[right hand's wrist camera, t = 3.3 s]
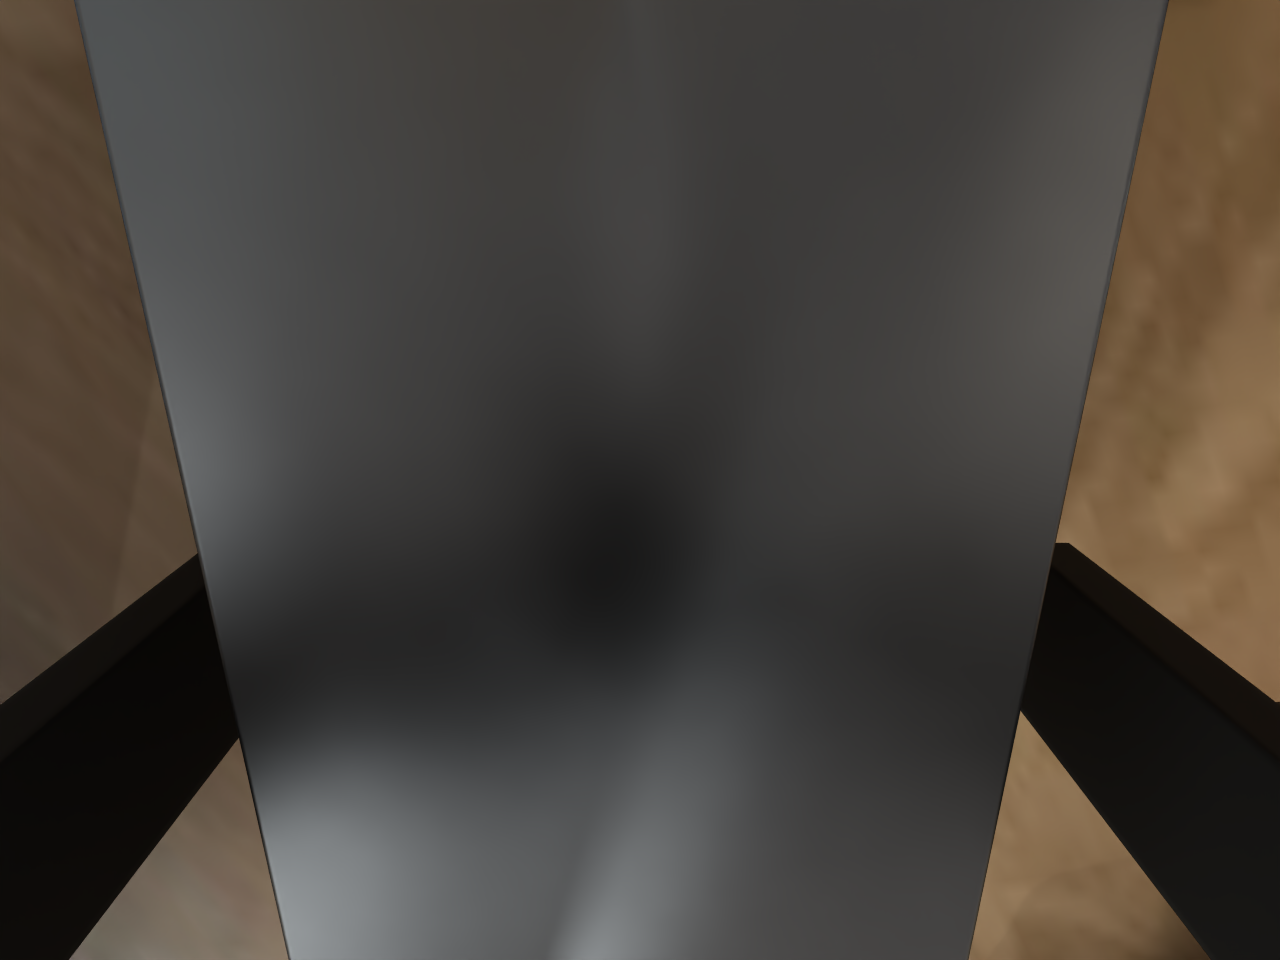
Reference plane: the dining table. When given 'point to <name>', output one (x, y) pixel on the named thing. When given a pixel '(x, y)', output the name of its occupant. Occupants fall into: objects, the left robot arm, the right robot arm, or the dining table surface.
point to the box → (624, 442)
